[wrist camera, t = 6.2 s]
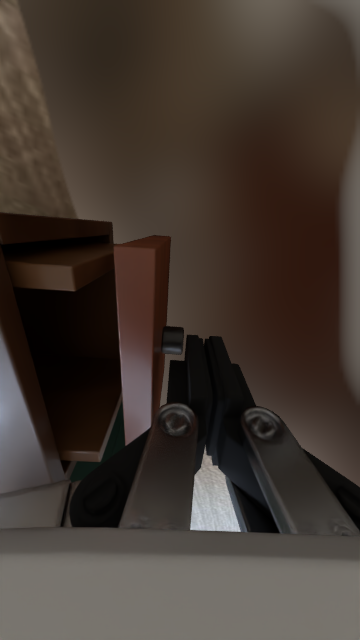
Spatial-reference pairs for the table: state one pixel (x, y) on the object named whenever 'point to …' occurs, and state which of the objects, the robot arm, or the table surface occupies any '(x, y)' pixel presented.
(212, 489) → the table surface
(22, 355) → the cabinet
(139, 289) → the drawer
